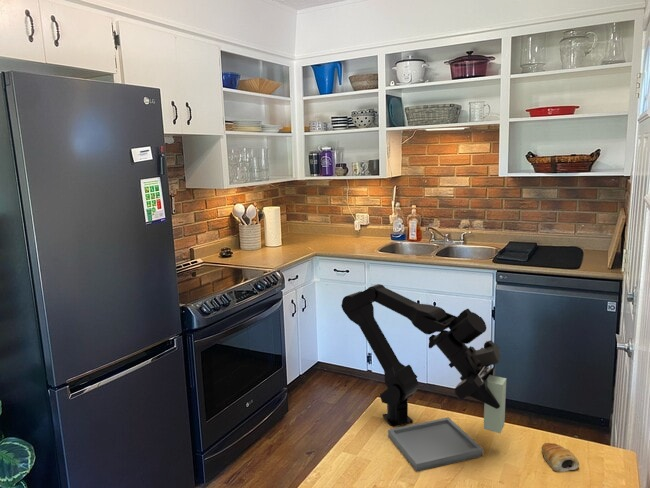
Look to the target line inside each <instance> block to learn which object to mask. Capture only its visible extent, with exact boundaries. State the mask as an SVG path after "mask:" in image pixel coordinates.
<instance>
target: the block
mask: <svg viewBox="0 0 650 488" xmlns="http://www.w3.org/2000/svg"><path fill="white" fill-rule="evenodd" d="M487 387H488V389H489V390H490V392H491V393H492V394H493V396H494V397H495V399H496V400H497V402H498V403H499V405H500V407H499V408H498V409H496V408H494V407H492V406H490V405H488V404H486V403H484V402H483V403H484V409H483V410H484V411H483V430H486V431H489V432H493V433H497V434H501V433H502V432H503V429H504V427H505V418H506V397H507V394H506V393H507V377H501V376H496V375H494V376H492V375H489V377H488V378H487Z"/></svg>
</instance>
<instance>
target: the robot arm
mask: <svg viewBox="0 0 650 488" xmlns="http://www.w3.org/2000/svg"><path fill="white" fill-rule="evenodd" d="M374 302H375V303H377V304H379V305H380V306H383V307H385V308H387V309H389V310H390V311H392V312H394V313H396V314H399V315H401V316H403V317H404V318H407V319H408V320H410V322H411V324H412V325H413V326H414V327H415V328H416V329H417V330H419V331H420V332H421V333H423V334H424V335H430V336H429V337H428V349H432V348H434V347H435V346H436V347H437V348H438V350H440V352H441V353H442V354H443V355H444V356H445V357H446V359H448V361H449V363H448V366H449V367H450V369H451V368H453V367H454V368H455V369H456V371H457V373H459V374H460V377H459V379H460V380H461V381H460V382H459V383H458V384H457V385H456V387H455V388H454V395H455V397H456V398H457V399H458V400H459V401H462V400H463V399H465V398H466V397H470V398H473V399H475V400H478V401H479V402H481V403H486V404H488V405H490V406H492V407H494V408H496V409H498V408H499V407H500V405H499V403H498V402H497V400H496V399H495V397H494V396H493V394H492V393H491V392H490V390H489V389H488V387H487V378H488V377H489V375H492V376H496V375H495V373H496V369H497V367H496V366H494V365H496V364H497V365H498V364H499V362H500V360H501V359H502V358H503V357H502V355H501V352H500V350H501V348H500V346H498V344H496V343H495V342H494V341H492V340H486V341H485V342H484V343H483V347H481V348H480V349H477V350H476V348H475V347H474V346H472V345H470V346H469V347H468V346H467V344H471V342H473V341H474V340H475V339H477V338H478V337H480V336H481V335H483V334H484V333H485V332H486V331H487V324H486V322H485V320H484V319H483V318H482V316H479V314H477V313H476V312H472V311H471V310H470V309H469V308H466V309H463V310H462V311H461V312H460V313H459V314H458V315H453V314H452V313H449V312H446V311H445V309H443V308H442V307H440V306H436V305H432V304H429V303H427V304H426V303H419V302H416V301H414V300H412V299H410V298H408V297H406V296H404V295H402V294H399V293H398V292H395V291H393V290H391V289H389V288H388V287H387V288H386V287H385V285H383V284H379V283H377V284H375V285H371V286H369V287H368V288H366V289H365V290H363V291H357V292H354V293H352V294H347V295H346V296H344V297H343V298H342V300H341V305H340V306H341V310H342V311H343V313H344V315H346V317H347V318H348V319H349V321H351V322H353V323H354V324H356V325H358V327H359V329H360V330H361V332H362V334H363V335H364V337H365V339H366V341H367V343H368V345H369V346H370V349H371V350H372V352H373V353H374V355H375V358H376V359H377V361H378V362H379V364H380V366H381V368H382V370H383V374H384V385H385V386H386V389H385V390H384V391H383V392H382V393H380V394H379V397H380V400H381V402H382V404H386V408H387V409H386V413H383V414H382V417H383V418H384V419H385V421H386V423H388V424H389V425H390V426H391V427H393V428H394V427H400V426H403V425H404V426H405V425H408V424H412V423H413V422H414V421H413V419H412V418H411V417H410V416H409V414H408V413H409V409H408V407H409V406H408V404H409V401H408V400H409V398H410V397H413V395H414V393H415V392H416V391H417V390H418V387H419V380H418V379H417V378H418V376H417V375H416V373H415V372H414V370H413V368H412V366H411V365H410V364H407V365H404V364H403V363H401V362H400V360H399V359H398V357H397V356H396V353H395V352H394V350H393V348H392V347H391V344H390V343H389V341H388V339H387V337H386V336H385V334H384V332H383V331H382V329H381V327H380V326H379V324H378V322H377V320H376V318H375V312H374V310H375V309H374V305H373V303H374ZM447 329H449V330H447ZM434 333H437V334H434ZM491 365H492V366H493V367H492V368H491Z"/></svg>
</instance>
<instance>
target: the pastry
mask: <svg viewBox="0 0 650 488" xmlns="http://www.w3.org/2000/svg"><path fill="white" fill-rule="evenodd" d="M541 451H542V455H543V457H544V461H546V463H547V464H548V465H549V467H550V468H551V469H552V470H553V471H555V472H558V473H559V472H560V473H564V472H568V471H575V470H577V469H578V468H579V466H580V462H579V460H578V458H577V457H576V455H574V454H573V453H572V452H571V450H570V449H569V448H565V447H563V446H561V445H560V444H557V443H553V442H544V443H543V445H541Z"/></svg>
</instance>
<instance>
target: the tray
mask: <svg viewBox="0 0 650 488" xmlns="http://www.w3.org/2000/svg"><path fill="white" fill-rule="evenodd" d="M387 432H388V433H387V436H388V438H389V439H390V441H391V440H392V441H391V443H393V445H394V446H395V447H396V448H397V450H398V451H399V452H400V453H401V455H402V456H404V458H405V460H407V462H408V463H409V464H410V465H411V467H412V468H413V469H414V471H415V472H417V473H418V472H421V471H426V470H430V469H434V468H435V469H436V468H438V467H444V466H447V465H451V464H452V465H453V464H455V463H460V462H464V461H469V460H473V459H477V458H482V457H484V448H483V447H482V446H481V445H480V444H479V443H477V442H476V441H475V440H474V439H473V437H471V436H470V435H469V434H468V433H467V432H465V431H464V430H463V429H462V428H461V427H460V426H458V424H456V423H455V421H453V420H452V419H451V418H450V417H449V416H448V417H443V418H439V419H438V418H437V419H433V420H429V421H424V422H423V421H422V422H419V423H414V424H410V425H408V424H407V425H404V426H398V427H395V428H394V427H393V428H389V429H388V430H387Z"/></svg>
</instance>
